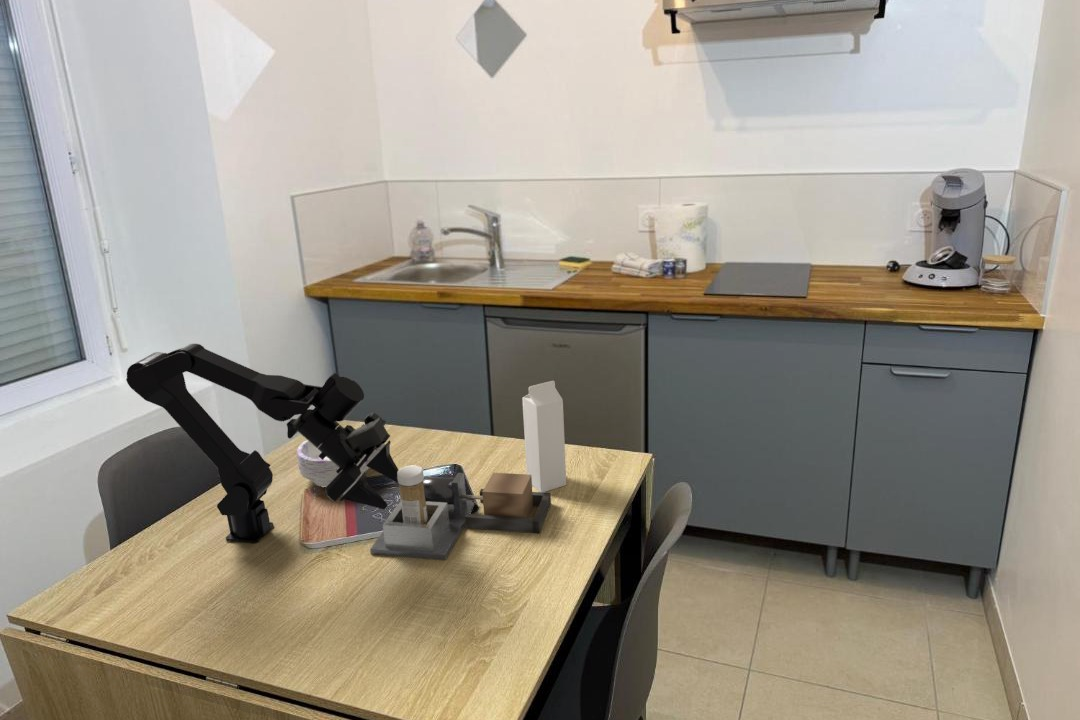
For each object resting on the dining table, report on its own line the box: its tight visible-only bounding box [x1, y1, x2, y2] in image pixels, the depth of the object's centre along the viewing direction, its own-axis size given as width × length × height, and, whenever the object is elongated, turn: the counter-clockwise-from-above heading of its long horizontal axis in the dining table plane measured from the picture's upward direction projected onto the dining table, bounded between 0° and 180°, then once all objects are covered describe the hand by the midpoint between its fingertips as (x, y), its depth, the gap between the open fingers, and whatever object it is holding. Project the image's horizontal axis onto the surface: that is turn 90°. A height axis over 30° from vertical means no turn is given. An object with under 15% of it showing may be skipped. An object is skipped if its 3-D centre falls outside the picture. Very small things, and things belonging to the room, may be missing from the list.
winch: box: [369, 472, 483, 561], centre depth 146 cm, size 19×19×8 cm
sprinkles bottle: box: [397, 464, 428, 524], centre depth 141 cm, size 5×5×14 cm
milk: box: [521, 380, 567, 493], centre depth 159 cm, size 6×6×22 cm
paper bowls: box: [296, 439, 370, 487], centre depth 168 cm, size 15×15×8 cm
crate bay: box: [465, 472, 552, 534], centre depth 150 cm, size 14×11×7 cm
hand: (394, 494), depth 142 cm, fingers open, 9 cm apart
